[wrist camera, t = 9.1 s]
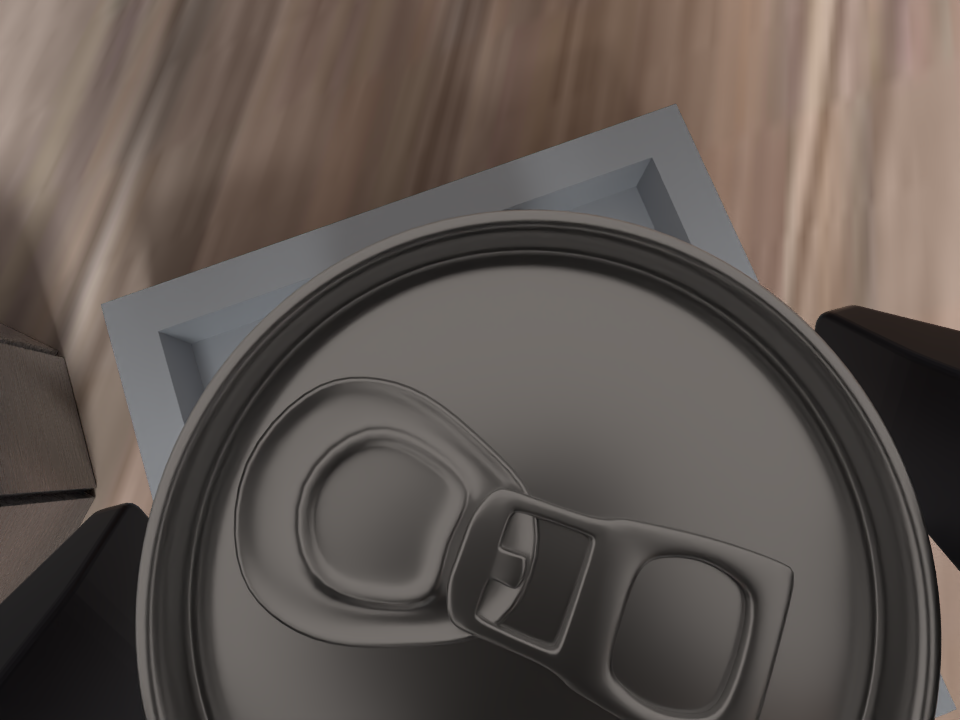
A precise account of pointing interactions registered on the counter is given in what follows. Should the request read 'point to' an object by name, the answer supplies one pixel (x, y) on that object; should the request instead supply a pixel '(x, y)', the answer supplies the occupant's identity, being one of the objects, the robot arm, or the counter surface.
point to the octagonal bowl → (37, 458)
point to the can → (535, 499)
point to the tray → (293, 262)
